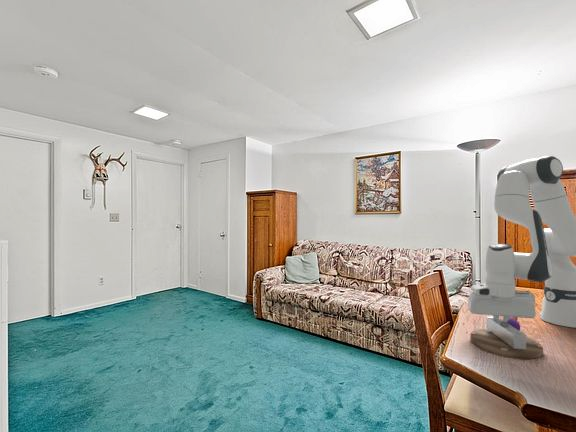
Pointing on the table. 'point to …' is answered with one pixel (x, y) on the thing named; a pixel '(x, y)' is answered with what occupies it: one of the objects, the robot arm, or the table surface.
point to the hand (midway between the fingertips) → (500, 327)
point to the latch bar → (507, 333)
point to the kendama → (514, 322)
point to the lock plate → (505, 346)
